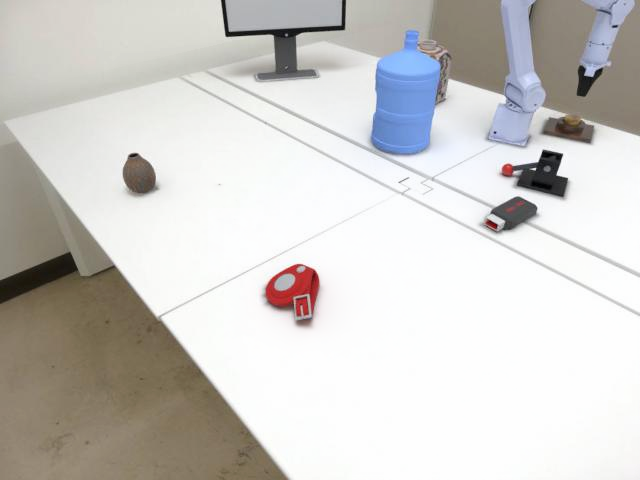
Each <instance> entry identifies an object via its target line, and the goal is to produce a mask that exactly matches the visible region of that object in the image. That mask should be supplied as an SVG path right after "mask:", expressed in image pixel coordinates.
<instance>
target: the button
mask: <svg viewBox="0 0 640 480" xmlns="http://www.w3.org/2000/svg"><path fill="white" fill-rule="evenodd" d="M564 117H565V118H564V121H563V122H564V123H566V124H569V125H579V123H580V120H582V118H581V116H580V115H577V114H571V113H570V114H569V113H568V114H566V115H565V116H564Z"/></svg>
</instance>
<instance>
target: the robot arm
mask: <svg viewBox="0 0 640 480" xmlns="http://www.w3.org/2000/svg"><path fill="white" fill-rule="evenodd" d="M536 1H537V0H501V2H500V13H501V19H502V20H501V21H502V26H503V33H504V40H505V47H506V54H507V61H508V67H509V73H508V74H507V75H506V76H505V78H504V79H505V85H504V87H503V95H504V98H506V99H505V103H502V102H500V103H498V104H497V106H496V109H495V112H494V115H493V118H492V122H491V126H490V131H489V135H488V137H487V138H488V140H491V141H495V142H499V143H504V144H508V145H514V146H517V147H523V148H524V147H525V146H526V144H527V142H528V140H529V138H530V135H531V134H530V133H529V131H530V126H531V124H532V120H533V117H534V114H535V112H537V110H538V109H540V108H541V107H542V106H543V104H544V102H545V101H546V97H547V93H546V91H545V89H544V88H543V87H542V81H541V80H540V78H539V76H538V75H537V72H535V66H534V57H533V46H532V45H533V44H532V36H531V27H530V26H531V25H530V18H529V7H530V6H531V5H533V4H534V3H535V2H536ZM580 1H581V2H583V3H585V4H587V5H589V6H591V7H592V8H594V10H595V12H596V16H595V18H594V21H593V25H592V27H591V30H590V33H589V36H588V39H587V41H586V43H585V48H584V50H583V53H582V56H581V57H580V59H579V63H580V65H578V68H577V77H578V83H577V89H576V96H577V97H583V98H585V97H586V96H587V95H588V93H589V91H590V90H591V89H592V86H593V85H594V83H595V82H596V81H597V80H598V79H599V78H600V77H601V76H602V74H603V71H604V67H611V65H612V61H610V60H608V59H609V56H610V53H611V51H612V48H613V45H614V43H615V40H616V37H617V34H618V33H619V30H620V27H621V25H622V24H623V23H624V22H625V20H626V17H627V16H628V15H629V14H630V12H631V11H632V10H633V8H635V5H636V2H635V0H580Z"/></svg>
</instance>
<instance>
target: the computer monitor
mask: <svg viewBox="0 0 640 480" xmlns="http://www.w3.org/2000/svg"><path fill="white" fill-rule="evenodd" d="M220 3H221V5H220V6H221V12H222V21H223V29H224V35H225V37H226V38H238V37H251V36H252V37H254V36H255V37H256V36H273V48H274V62H275V63H274V64H275V65H274V66H275V71H262V72H257V73H256V74H255V78H256V81H257V82H261V83H262V82H275V81H277V82H278V81H290V80H303V79H315V78H319V74H318V71H317V70H316V69H313V68H305V69H298V55H297V53H298V52H297V36H299V35H301V34H305V33H322V32H323V33H324V32H339V31H341V32H342V31H345V30H346V16H347V15H346V14H347V0H220Z"/></svg>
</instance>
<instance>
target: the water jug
mask: <svg viewBox="0 0 640 480" xmlns="http://www.w3.org/2000/svg"><path fill="white" fill-rule="evenodd" d="M404 34H405V37H404V43H403V44H404V45H403V48H402V49H401V50H398V51H396V52H393V53H390V54H387V55H386V56H383V57H381V58H379V60H377V63H376V68H375V75H374V76H375V77H374V79H375V84H374V85H375V86H374V91H375V94H376V103H375V112H373V113H374V114H373V115H372V124H371V125H372V126H371V132H370V140H371V143H372V144H373V145H374V147H376V148H377V149H379V150H381V151H382V152H385V153H388V154H395V155H412V154H418V153H420V152H423V151H425V149H427V148H428V146H429V144H430V142H431V133H432V132H431V130H432V125H433V118H434V115H435V109H436V104H435V100H436V94H437V87H438V84H439V79H440V68H441V66H440V64H439V62H438V61H436V60H435V59H433V58H431V57H429V56H427V55H425V54H423V53H422V52H420V51H418V50H417V44H419V35H420V31H419V30H411V29H409V30H406V31H405V32H404Z"/></svg>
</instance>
